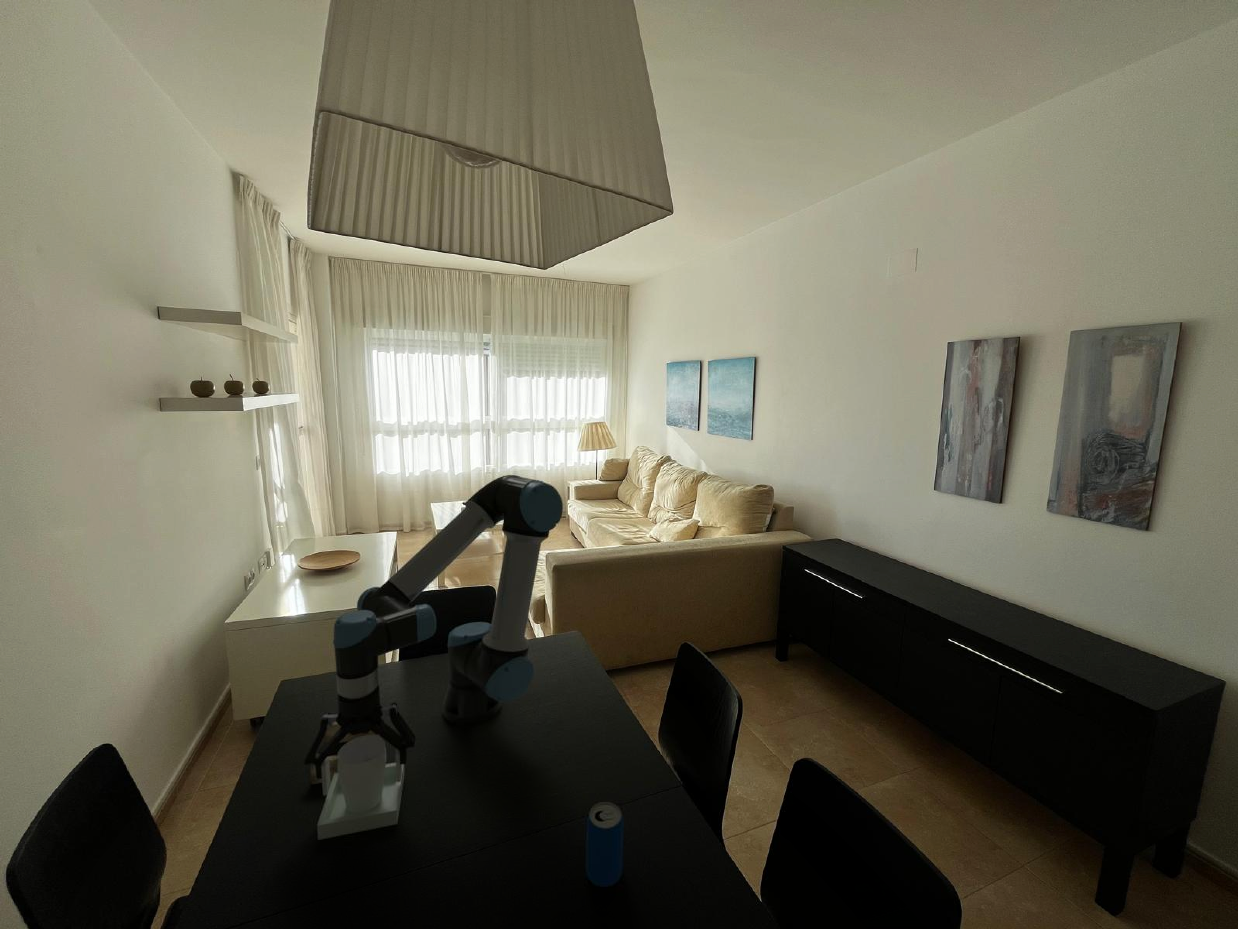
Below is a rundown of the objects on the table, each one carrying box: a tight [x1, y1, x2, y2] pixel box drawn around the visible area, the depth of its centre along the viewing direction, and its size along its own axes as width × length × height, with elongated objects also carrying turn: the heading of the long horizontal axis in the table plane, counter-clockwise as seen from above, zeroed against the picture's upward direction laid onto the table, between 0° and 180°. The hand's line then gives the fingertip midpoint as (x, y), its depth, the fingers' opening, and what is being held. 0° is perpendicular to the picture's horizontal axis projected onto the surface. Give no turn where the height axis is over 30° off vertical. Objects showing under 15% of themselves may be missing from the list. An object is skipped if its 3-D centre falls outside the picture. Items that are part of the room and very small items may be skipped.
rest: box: [309, 722, 381, 785], centre depth 121 cm, size 12×14×5 cm
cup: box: [337, 735, 387, 814], centre depth 107 cm, size 9×9×12 cm
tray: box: [316, 762, 406, 841], centre depth 107 cm, size 14×14×3 cm
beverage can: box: [585, 801, 624, 887], centre depth 93 cm, size 6×6×12 cm
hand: (363, 784), depth 107 cm, fingers open, 13 cm apart
